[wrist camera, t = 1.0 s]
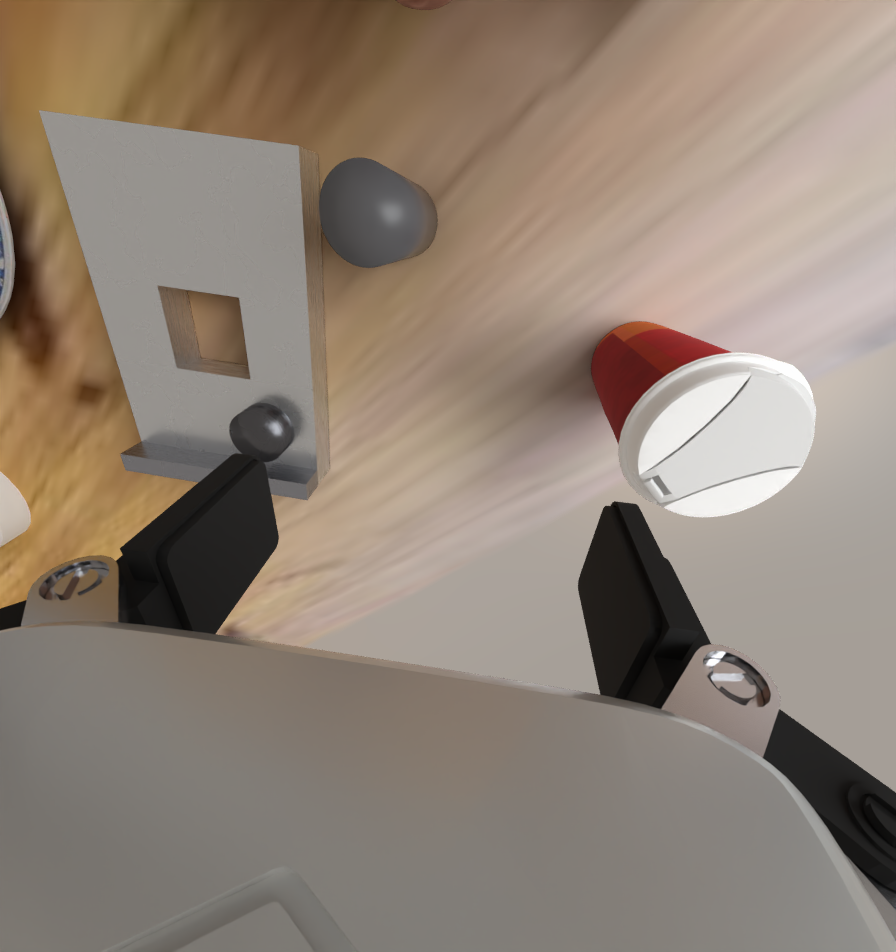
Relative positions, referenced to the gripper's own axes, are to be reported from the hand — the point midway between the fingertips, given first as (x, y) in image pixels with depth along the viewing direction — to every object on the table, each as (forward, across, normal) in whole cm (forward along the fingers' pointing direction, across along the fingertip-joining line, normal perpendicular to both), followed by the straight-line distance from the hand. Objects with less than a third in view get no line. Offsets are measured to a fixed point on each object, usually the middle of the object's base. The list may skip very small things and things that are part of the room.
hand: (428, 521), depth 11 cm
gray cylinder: (+24, +6, -7) cm, 25 cm away
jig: (+23, +20, +1) cm, 31 cm away
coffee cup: (+24, -12, +1) cm, 27 cm away
